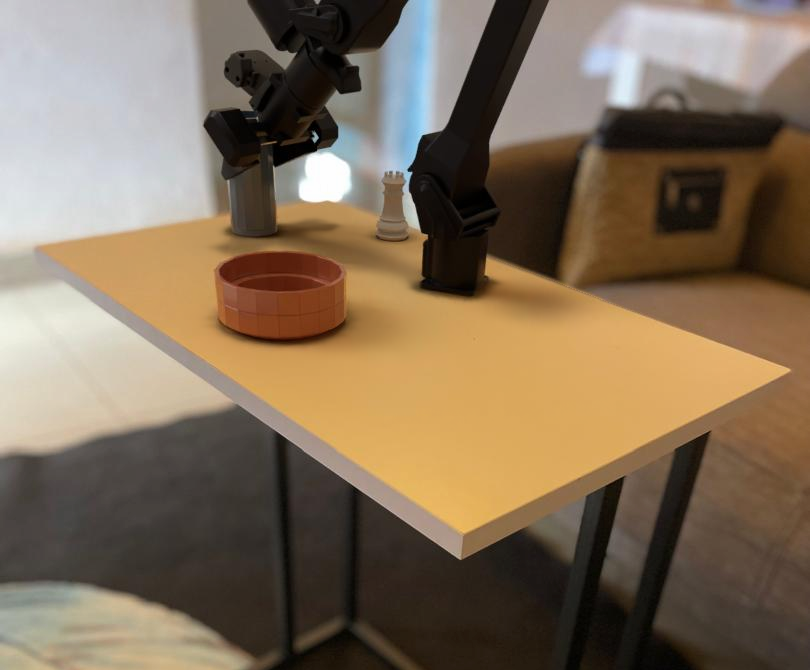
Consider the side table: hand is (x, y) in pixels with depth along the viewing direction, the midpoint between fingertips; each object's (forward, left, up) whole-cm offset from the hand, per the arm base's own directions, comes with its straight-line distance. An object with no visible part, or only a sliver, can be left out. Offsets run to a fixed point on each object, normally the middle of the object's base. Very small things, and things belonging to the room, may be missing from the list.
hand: (243, 172), depth 108 cm
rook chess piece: (-18, -7, -7) cm, 21 cm away
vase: (-1, 0, -7) cm, 7 cm away
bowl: (-20, +26, -7) cm, 34 cm away
